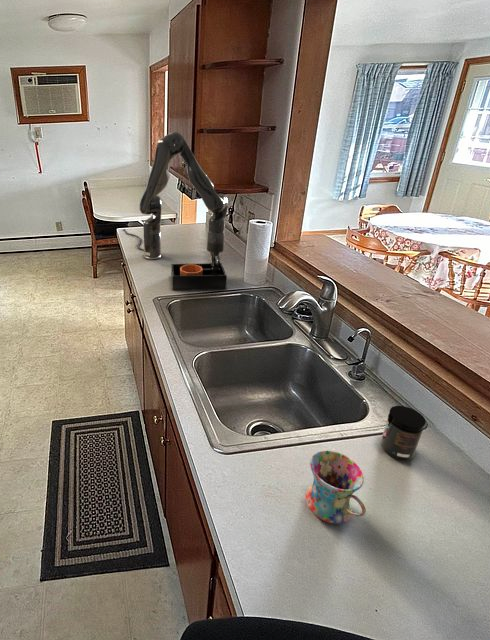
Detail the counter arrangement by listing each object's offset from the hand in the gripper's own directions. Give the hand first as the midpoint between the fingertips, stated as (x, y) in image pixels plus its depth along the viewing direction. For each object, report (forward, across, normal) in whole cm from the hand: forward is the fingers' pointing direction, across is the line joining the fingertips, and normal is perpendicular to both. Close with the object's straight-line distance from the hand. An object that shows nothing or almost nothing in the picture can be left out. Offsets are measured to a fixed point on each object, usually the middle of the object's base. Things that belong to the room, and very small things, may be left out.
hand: (214, 276), depth 179 cm
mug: (+4, -111, -9) cm, 111 cm away
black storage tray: (+3, 0, +7) cm, 8 cm away
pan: (0, 0, +6) cm, 6 cm away
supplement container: (+4, -95, -30) cm, 99 cm away
